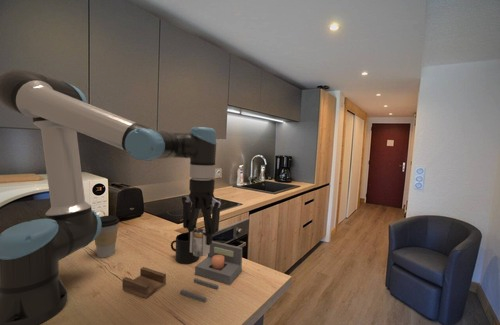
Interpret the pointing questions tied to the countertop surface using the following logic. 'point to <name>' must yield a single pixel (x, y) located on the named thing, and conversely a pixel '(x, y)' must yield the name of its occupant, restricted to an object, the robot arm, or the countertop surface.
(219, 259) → the test button
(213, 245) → the grey blocks and bars
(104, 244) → the coffee cup
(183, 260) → the mug
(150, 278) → the trough
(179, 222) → the countertop surface
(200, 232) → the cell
